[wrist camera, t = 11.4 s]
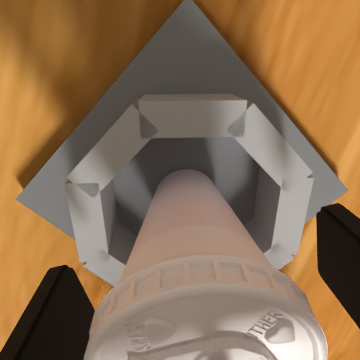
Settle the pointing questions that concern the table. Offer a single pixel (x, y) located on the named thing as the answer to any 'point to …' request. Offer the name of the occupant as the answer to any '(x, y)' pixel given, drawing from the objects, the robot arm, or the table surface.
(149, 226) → the smoothie
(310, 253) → the table surface
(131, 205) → the bottle socket
